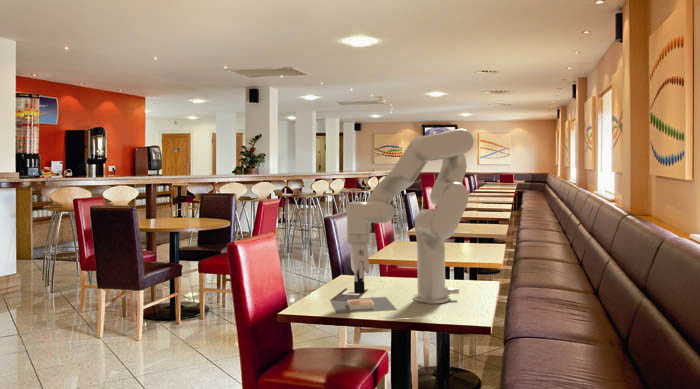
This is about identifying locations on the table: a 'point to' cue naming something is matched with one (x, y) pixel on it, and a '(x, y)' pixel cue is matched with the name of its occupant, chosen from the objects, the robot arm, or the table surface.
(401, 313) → the table surface
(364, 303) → the tile
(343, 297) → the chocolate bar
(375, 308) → the mat
